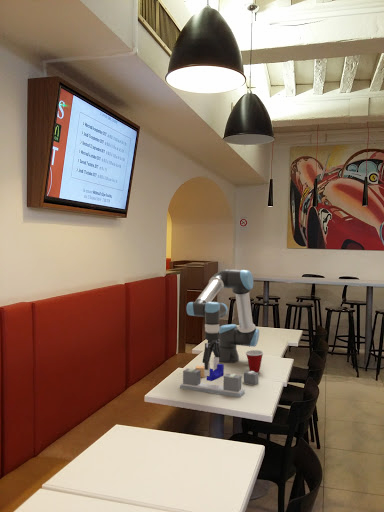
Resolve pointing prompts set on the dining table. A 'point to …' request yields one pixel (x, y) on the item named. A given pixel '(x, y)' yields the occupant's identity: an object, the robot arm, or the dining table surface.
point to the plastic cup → (254, 360)
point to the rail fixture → (229, 388)
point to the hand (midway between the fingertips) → (211, 372)
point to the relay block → (251, 377)
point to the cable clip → (216, 372)
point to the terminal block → (201, 370)
